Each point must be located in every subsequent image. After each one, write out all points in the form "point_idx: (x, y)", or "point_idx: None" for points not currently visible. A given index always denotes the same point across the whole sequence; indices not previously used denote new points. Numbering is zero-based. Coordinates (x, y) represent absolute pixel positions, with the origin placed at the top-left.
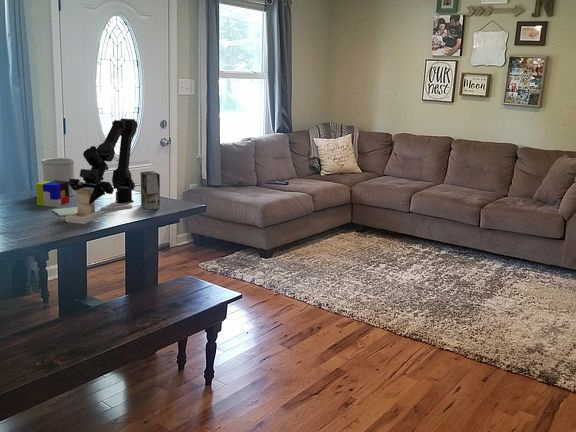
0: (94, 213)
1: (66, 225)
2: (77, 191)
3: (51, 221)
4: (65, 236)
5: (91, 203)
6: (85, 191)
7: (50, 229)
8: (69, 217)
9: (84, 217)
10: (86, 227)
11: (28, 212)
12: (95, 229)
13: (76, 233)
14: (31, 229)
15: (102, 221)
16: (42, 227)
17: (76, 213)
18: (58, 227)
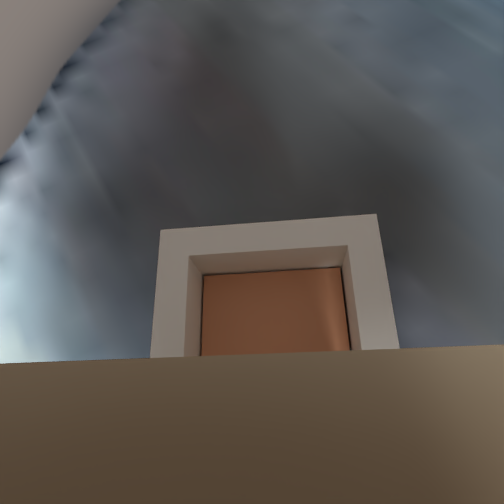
0: None
1: (286, 164)
2: (440, 355)
3: (493, 205)
4: (149, 4)
5: None
6: (33, 367)
7: (320, 53)
8: (326, 222)
9: (165, 248)
10: (116, 182)
11: None
12: (36, 169)
13: (118, 61)
14: (431, 7)
15: None
16: (406, 61)
17: None
18: (304, 104)
